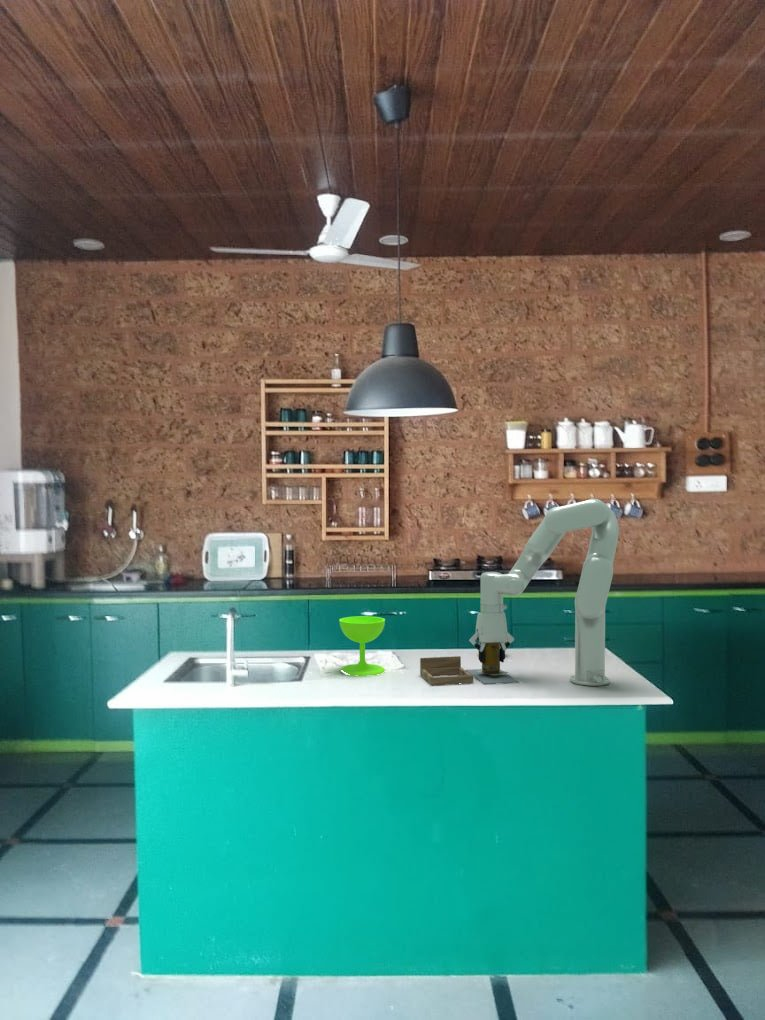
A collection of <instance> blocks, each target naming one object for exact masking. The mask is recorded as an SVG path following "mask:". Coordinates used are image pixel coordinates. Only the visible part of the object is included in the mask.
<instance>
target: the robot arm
mask: <svg viewBox="0 0 765 1020" xmlns="http://www.w3.org/2000/svg"><path fill="white" fill-rule="evenodd" d="M619 527H620V526H619V522H618V519H617V516H616V514H615V512H614V511H613V510H612V509H611V508H610V506H608V505H607V504H606V503H605V502H604V501H602V500H601V499H599V498H590V499H587V500H584V501H579V502H575V503H571V504H567V505H562V506H561V505H560V506H554V507H551V508H550V509H549V510H548V511H547V512H546V513H545V516H544V517H543V519H542V520H541V522H540V523H539V525H538V526H537V528H536V529H535V530H534V532H533V533H532V535H531V536H530V538H529V539H528V541H527V542H526V544H525V546H524V548H523V551H522V552H521V555H520V556H519V557H518V559H517V560H516V562H515V564H514V565H513V566H512V568H511V569H510V571H509V572H508V573H503V574H502V573H501V572H498V571H497V572H496V571H486V572H481V575H480V612H478V613H477V617H476V624H475V633H474V634H473V635H472V636H471V638H469V642H470V643H471V644H472V645H473V646H474V647H475V648H476V650H478V660H479V662H480V663H481V664H482V663H485V652H484V651H483V649H484V647H485V644H486V643H499V645H500V663H504V662H505V659H506V651H505V650H507V649H508V648H509V646H510V645H511V644H512V643H513V642H514V641H515V638H514V636H513V635H512V634H510V632H508V624H507V618H506V613H505V612H504V611H505V610H507V609H508V606H507V604H504V595H507V596H511V597H512V596H514V597H515V596H519V595H520V594H523V592H524V590H525V589H526V588H527V586H528V585H529V583H530V582H531V580H532V579H533V577H534V576H535V575H536V573H537V572H538V570H539V569H540V567H541V566H542V565H543V564H544V563H545V562H546V561H547V560H548V558H549V557H550V556H551V555H552V553H553V552H554V550H555V548H556V547H557V546H558V544H559V543H560V541H561V540H562V538H563V537H564V536H565V534H566V533H568V532H569V533H570V532H574V531H578V530H582V529H588V528H591V536H590V540H589V545H588V550H587V554H586V557H585V560H584V562H583V565H582V569H581V574H580V578H579V582H578V586H577V590H576V594H575V597H574V607H575V611H574V615H575V617H574V619H575V621H574V622H575V623H574V625H575V626H574V631H575V634H574V674H573V675H571V676H570V678H569V681H570V682H572V683H574V684H576V685H581V686H589V687H590V686H592V687H595V686H606V685H608V684H610V683H611V682H610V681H611V680H610V678H609V677H607V676H606V670H605V669H606V605H607V601H608V596H609V592H610V590H611V589H610V588H611V584H612V581H613V577H614V575H613V574H614V559H615V556H616V550H617V545H618V540H619V536H620V535H619V533H620V532H619V531H620V528H619ZM507 637H508V639H507ZM476 641H477V642H478V643H477V642H476ZM504 642H505V643H504Z"/></svg>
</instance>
